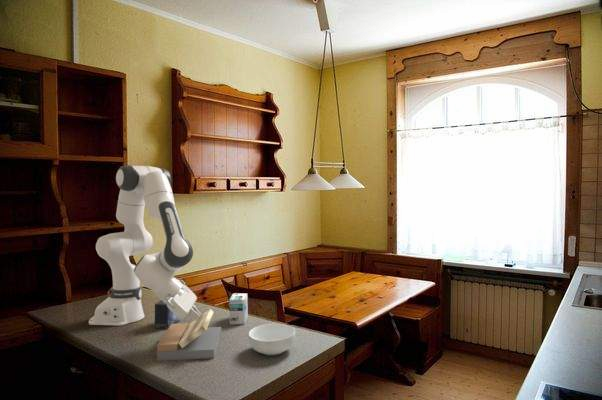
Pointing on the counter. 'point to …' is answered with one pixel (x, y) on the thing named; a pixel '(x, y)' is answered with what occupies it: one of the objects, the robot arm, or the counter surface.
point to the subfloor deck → (195, 349)
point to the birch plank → (196, 328)
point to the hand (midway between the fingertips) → (199, 316)
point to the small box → (164, 316)
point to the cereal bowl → (272, 338)
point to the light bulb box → (238, 308)
